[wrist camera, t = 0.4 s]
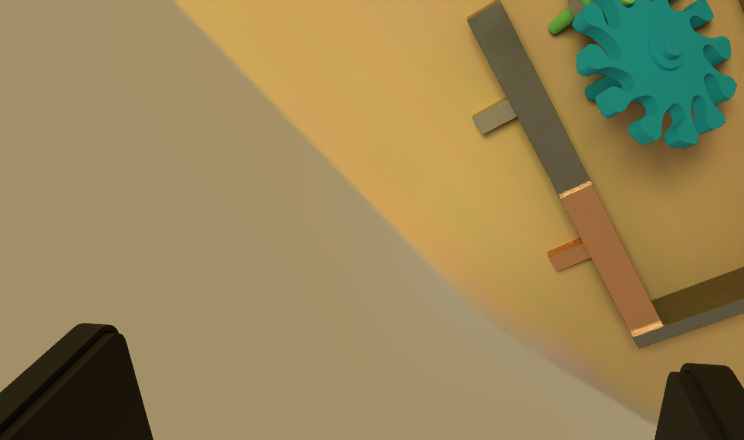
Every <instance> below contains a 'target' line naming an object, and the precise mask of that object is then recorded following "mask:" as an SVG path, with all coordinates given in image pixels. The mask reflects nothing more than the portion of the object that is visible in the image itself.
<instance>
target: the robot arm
mask: <svg viewBox="0 0 744 440" xmlns="http://www.w3.org/2000/svg"><path fill="white" fill-rule="evenodd" d="M0 440H153V437H152V433H151V430H150V426H149V423H148V419H147V415H146V412H145V408H144V405H143V401H142V397H141V394H140V390H139V386H138V383H137V380H136V376H135V372H134V369H133V365H132V361H131V358H130V354H129V351H128V347H127V343H126V340H125V338H124V336H123V335H122V334H119V333H118V330H117V329H116V328H115V327H114V326H112V325H105V324H104V325H103V324H89V323H82V324H79V325H77V326H75V327H74V328H73V329H72V330H71V331H69V332H68V333H67V334H66V335H65V336H64V337H63V338H61V339H60V340H59V341H58V342H57V343H56V344H55V345H53V346H52V347H51V348H50V349H49V350H48V351H47V352H46V353H44V354H43V355H42V356H41V357H40V358H39V359H38V360H37V361H36V362H34V363H33V364H32V365H31V366H30V367H29V368H28V369H26V370H25V371H24V372H23V373H22V374H21V375H20V376H18V377H17V378H16V379H15V380H14V381H13V382H12V383H11V384H9V385H8V386H7V387H6V388H5V389H4V390H3V391H2V392H0ZM655 440H744V388H743V387H742V385H741V384H740V382H739V381H738V379H737V377H736V376H735V374H734V373H733V371H732V370H731V369H730V368H729V367H727V366H724V365H709V364H694V363H686V364H684V365H683V366H682V367H681V370H680V372H670V374H669V376H668V379H667V383H666V388H665V393H664V398H663V402H662V407H661V412H660V416H659V421H658V426H657V431H656V435H655Z"/></svg>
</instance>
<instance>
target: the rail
mask: <svg viewBox="0 0 744 440" xmlns="http://www.w3.org/2000/svg"><path fill="white" fill-rule="evenodd" d="M740 3H741V6H742V8H743V11H744V0H740ZM467 21H468V23H469V25H470V27H471V29H472V31H473V33H474V35H475V37H476V39H477V40H478V42H479V44H480V46H481V48H482V50H483V52H484V54H485V56H486V58H487V60H488V61H489V63H490V65H491V67H492V69H493V71H494V73H495V75H496V77H497V79H498V81H499V82H500V84H501V86H502V88H503V90H504V92H505V94H506V96H507V97H506V98H504V99H503V100H501V101H499V102H497V103H495V104H493V105H492V106H490V107H488V108H486V109H484V110H482V111H480V112H479V113H477V114H475V115H473V120H474V122H475V124H476V125H477V127H478V129H479V131H480V133H481V135H483V134H484V133H486V132H488V131H490V130H492V129H494V128H496V127H498V126H500V125H502V124H503V123H505V122H507V121H509V120H511V119H513V118H515V117H518V119H519V121H520V122H521V124H522V126H523V128H524V130H525V132H526V134H527V136H528V138H529V140H530V141H531V143H532V145H533V147H534V149H535V151H536V153H537V155H538V157H539V159H540V161H541V162H542V164H543V166H544V168H545V170H546V172H547V174H548V176H549V178H550V180H551V182H552V183H553V185H554V187H555V189H556V191H557V193H558V195H559V197H560V199H561V201H562V203H563V205H564V207H565V209H566V211H567V213H568V214H569V216H570V218H571V220H572V222H573V224H574V226H575V228H576V230H577V232H578V233H579V235H580V237H581V238H580V239H578V240H575V241H573V242H571V243H568V244H566V245H564V246H561V247H559V248H557V249H554V250H552V251H550V252H548V255H549V258H550V260H551V262H552V263H553V265H554V267H555V269H556V271H559V270H562V269H564V268H567V267H569V266H571V265H574V264H576V263H579V262H581V261H584V260H586V259H588V258H592V260H593V262H594V264H595V266H596V268H597V270H598V272H599V273H600V275H601V277H602V279H603V281H604V283H605V285H606V287H607V289H608V291H609V293H610V294H611V296H612V298H613V300H614V302H615V304H616V306H617V308H618V310H619V312H620V313H621V315H622V317H623V319H624V321H625V323H626V325H627V327H628V329H629V331H630V333H631V334H632V337H633V339H634V341H635V343H636V344H637V346H638V348H642V347H644V346H647V345H650V344H653V343H656V342H659V341H662V340H665V339H668V338H671V337H674V336H677V335H680V334H683V333H686V332H689V331H691V330H694V329H697V328H700V327H703V326H706V325H709V324H712V323H715V322H718V321H721V320H724V319H727V318H730V317H733V316H736V315H739V314H741V313H744V267H743V268H740V269H738V270H735V271H732V272H729V273H727V274H724V275H721V276H718V277H716V278H713V279H710V280H708V281H705V282H702V283H699V284H697V285H694V286H691V287H689V288H686V289H683V290H680V291H678V292H675V293H672V294H669V295H667V296H664V297H661V298H659V299H656V300H653V301H651V300H650V298H649V296H648V294H647V292H646V290H645V289H644V287H643V285H642V283H641V281H640V279H639V277H638V275H637V273H636V271H635V269H634V267H633V265H632V263H631V261H630V259H629V257H628V255H627V253H626V251H625V249H624V247H623V245H622V243H621V241H620V239H619V237H618V235H617V233H616V231H615V229H614V227H613V225H612V223H611V221H610V219H609V217H608V215H607V213H606V211H605V209H604V207H603V205H602V203H601V201H600V199H599V197H598V195H597V193H596V191H595V189H594V187H593V185H592V183H591V181H590V179H589V177H588V175H587V173H586V171H585V169H584V167H583V165H582V163H581V161H580V159H579V157H578V155H577V153H576V151H575V149H574V147H573V145H572V143H571V141H570V139H569V137H568V135H567V133H566V131H565V129H564V127H563V125H562V123H561V121H560V119H559V117H558V115H557V113H556V111H555V109H554V107H553V105H552V103H551V101H550V99H549V97H548V95H547V93H546V91H545V89H544V87H543V85H542V83H541V81H540V79H539V77H538V75H537V73H536V71H535V69H534V67H533V66H532V64H531V62H530V60H529V58H528V56H527V54H526V52H525V50H524V48H523V46H522V44H521V42H520V40H519V38H518V36H517V34H516V32H515V30H514V28H513V26H512V24H511V22H510V20H509V18H508V16H507V14H506V12H505V10H504V8H503V6H502V4H501V2H500V0H495V1H494V2H492V3H490V4H489V5H487V6H486V7H484V8H482V9H481V10H479V11H477V12H476V13H474V14H473V15H471V16H469V17H468V19H467Z"/></svg>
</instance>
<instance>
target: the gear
mask: <svg viewBox="0 0 744 440" xmlns="http://www.w3.org/2000/svg"><path fill="white" fill-rule="evenodd" d="M668 1H669V0H651V1H648V0H568V5H569V8H568V9H567V10H565V11H564V12H563V13H562V14H561V15H559V16H558V17H557V18H556V19H555V20H553V21H552V22H551V23H550V24H549V26H548V28H549V31H550V32H551V33H552V34H557V33H559V32H560V31H561V30H562V29H564V28H565V27H566V26H567V25H569V24H570V23H571V22H573V23H572V25H573V27H574V28H575V30H577V31H578V32H579V33H582V34H585V35H587V36H590V37H591V38H592V39H593V41H594V42H595V43H596V44H597V45H595V44H589V45H588V46H586V47H585V48H583V49H582V50H580V51H579V52H578V53H577V58H576V63H577V71H578V73H579V74H580V75H582V76H590V75H593V74H603V75H605V76H604V77H602V78H600V79H599V80H597V81H595V82H594V83H592V84H590V85H589V86H587V87H586V89H585V93H586V96H587V98H588V99H589V100H591V101H596V103H597V106H598V108H599V110H600V111H601V113H602V115H603V116H604V118H610V117H612V116H614V115H616V114H618V113H620V112H622V111H624V110H625V109H626V107H627V105H628V104H629V103H630V102H639V103H641V104H642V105H643V106H644V108H645V110H646V116H645V117H642V118H640V119H638V120H636V121H634V122H632V123H631V124H630V125H629V128H628V132H629V134H630V135H631V136H632V137H633V138H634V139H635V140H636V141H638V142H639V143H641V144H642V145H646V144H648V143H651V142H653V141H656V140H658V139H659V138H660V137H661V134H662V120H663V116H664V114H665V112H666V111H668V112H669V114H670V115H671V117H672V125H671V126H670V127H669V129H668V130H667V131H666V133H665V142H666V145H668V146H670V147H673V148H679V149H683V148H686V147H689V146H692V145H694V144H697V141H698V135H697V133H698V134H703V133H706V132H708V131H711V130H714V129H716V128H719V127H721V126H722V125H723V124H725V123H726V122H725V117H724V115H723V113H722V112H721V111H720V110H719V109H718V108H717V107H716V106H715V105H714V104H716V105H717V104H719V103H722V102H724V101H726V100H729V99H731V98H732V97H733V95H734V93H735V90H736V86H737V84H736V82H735V81H734V80H733V79H732V78H731V77H729V76H725V75H723V74H721V73H720V72H718V71H717V70H716V69H715V68H713V66H715V65H718V64H720V63H722V62H724V61H726V60H728V59H730V58H731V47H730V42H729V40H728V39H727V38H725V37H718V38H707V37H704V36H702V35H700V34H699V33H697V32H695V31H694V30H693V29H692V28H699V27H700V26H702V25H704V24H705V23H707V22H709V21H710V20H712V19H713V13H712V11H711V9H710V7H709V5H708V3H707V2H706V0H697V1H696V2H694V3H693V4H691V5H689V6H688V7H686V8H685V9H684V11H675V10H673V9H672V8H671V7H670V5H669V3H668ZM712 65H713V66H712ZM620 87H622V89H621V88H620ZM713 103H714V104H713ZM691 106H692V107H693V111H694V116H693V122H692V117H691Z"/></svg>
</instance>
